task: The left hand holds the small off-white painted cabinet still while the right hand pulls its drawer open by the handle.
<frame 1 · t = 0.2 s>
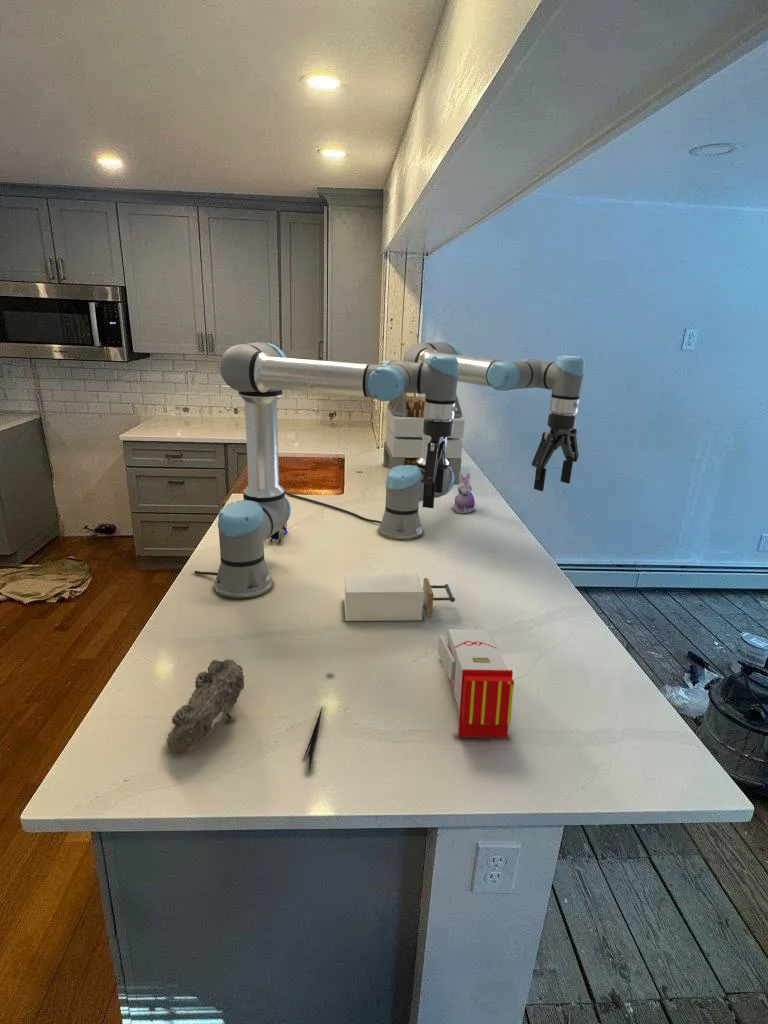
left hand: (432, 499, 149), 28 cm above the counter, tool pointing down, fingers open, 13 cm apart
right hand: (552, 486, 165), 28 cm above the counter, tool pointing down, fingers open, 13 cm apart
drawer: (406, 596, 148), point 4 cm above the counter, slide at 1.5 cm
cabinet: (382, 610, 149), on the counter
toy: (469, 691, 119), on the counter
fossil: (212, 717, 108), on the counter
transformer: (419, 473, 275), on the counter
feather: (319, 719, 109), on the counter
figurine: (463, 510, 227), on the counter
figurine character: (277, 538, 192), on the counter
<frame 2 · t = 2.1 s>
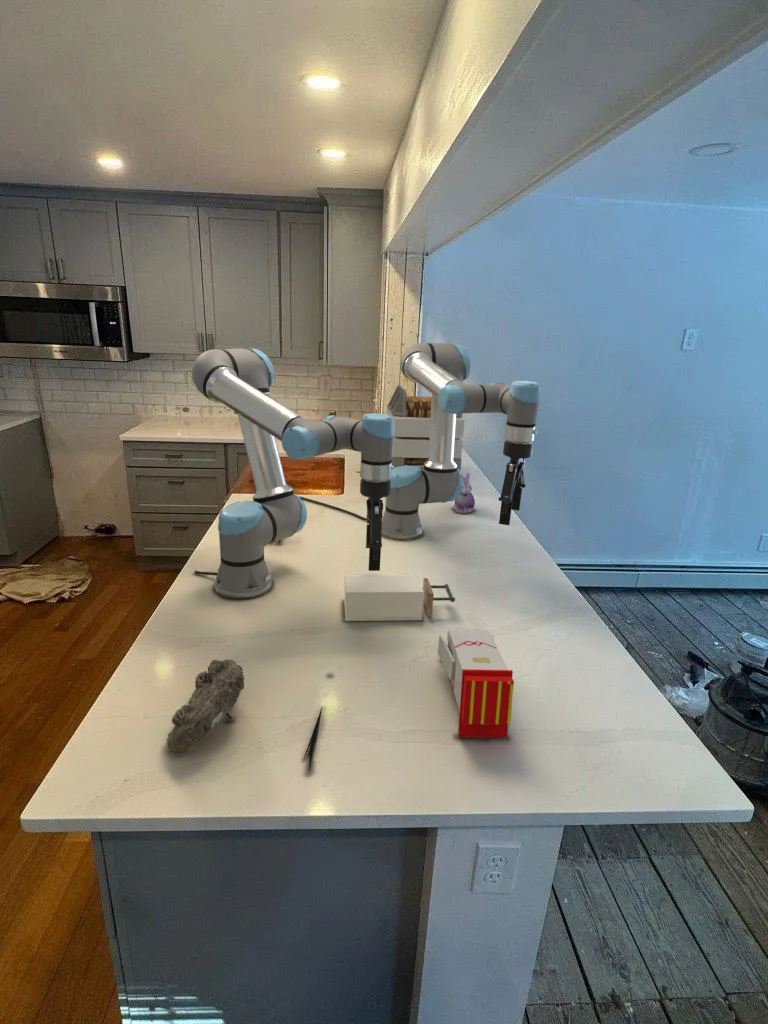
left hand: (372, 558, 145), 14 cm above the counter, tool pointing down, fingers open, 13 cm apart
right hand: (509, 516, 157), 22 cm above the counter, tool pointing down, fingers open, 13 cm apart
nothing on the counter moved.
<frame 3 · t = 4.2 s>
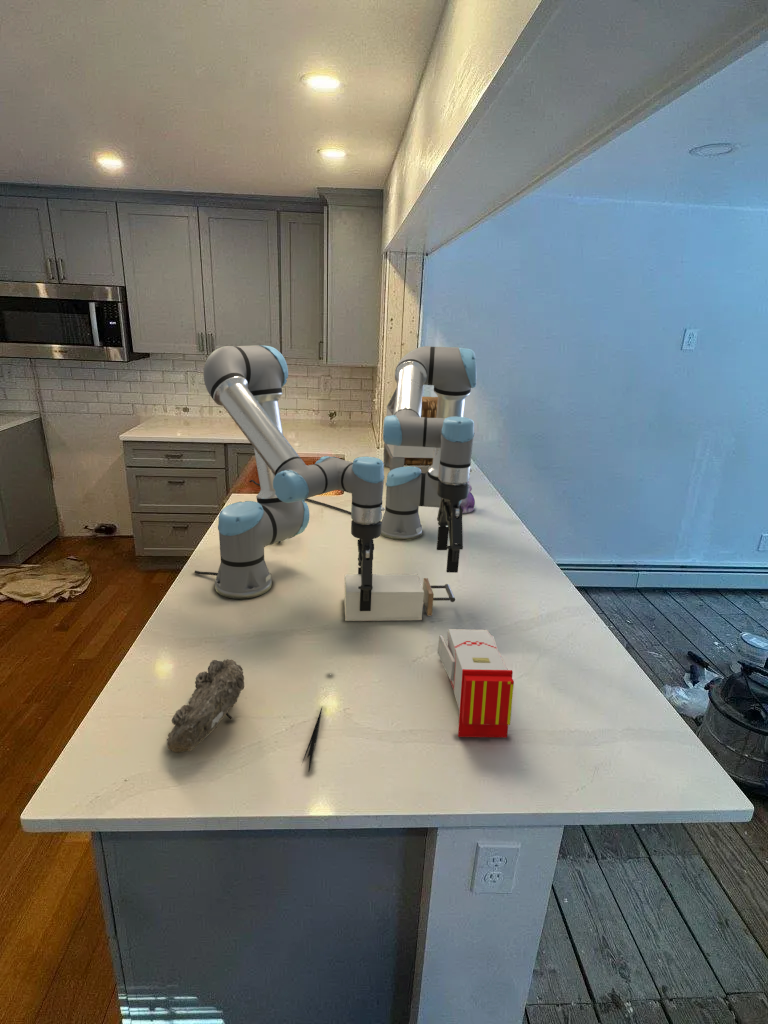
left hand: (363, 599, 147), 3 cm above the counter, tool pointing down, fingers closed on cabinet, 10 cm apart
right hand: (446, 560, 146), 14 cm above the counter, tool pointing down, fingers open, 13 cm apart
cabinet: (382, 610, 149), on the counter, touching left hand
everything else where it was.
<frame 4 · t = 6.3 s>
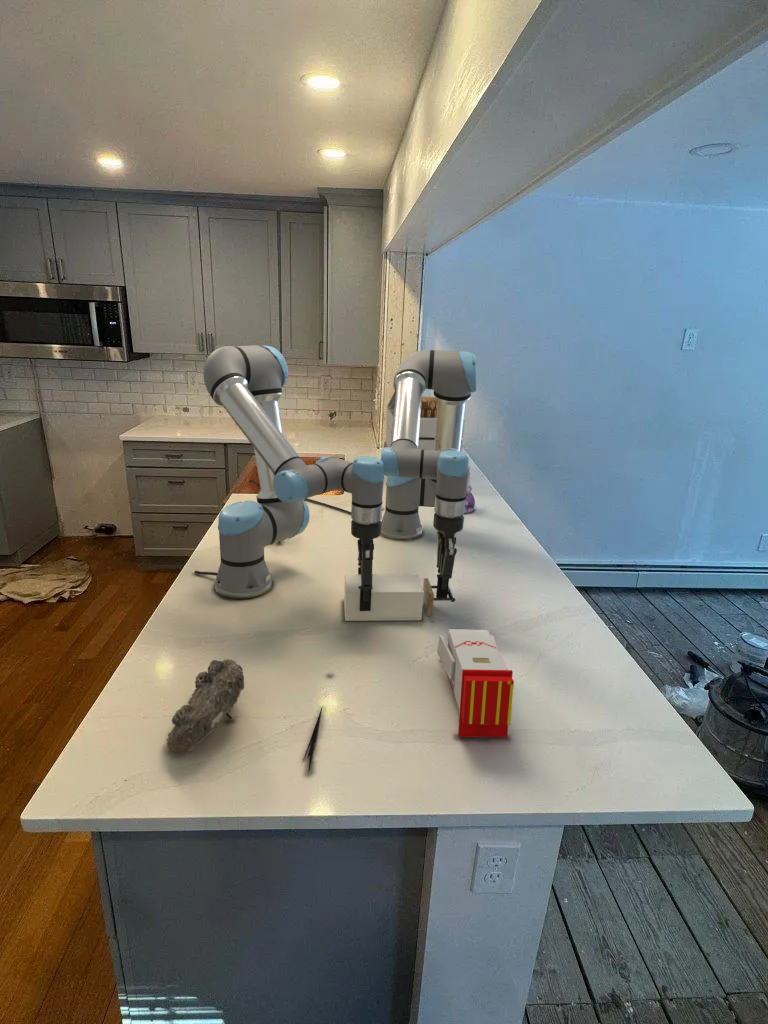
left hand: (363, 599, 147), 3 cm above the counter, tool pointing down, fingers closed on cabinet, 10 cm apart
right hand: (441, 597, 149), 4 cm above the counter, tool pointing down, fingers closed
drawer: (406, 596, 148), point 4 cm above the counter, slide at 1.6 cm, touching right hand
cabinet: (381, 610, 149), on the counter, touching left hand
everything else where it was.
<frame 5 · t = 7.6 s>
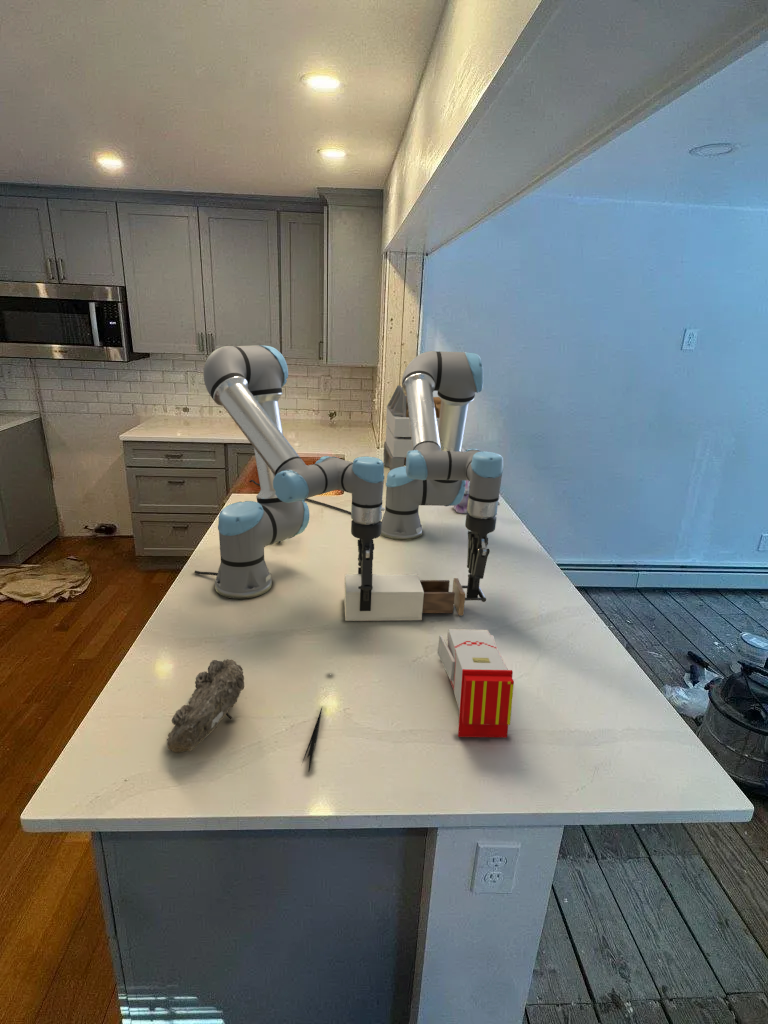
left hand: (363, 599, 147), 3 cm above the counter, tool pointing down, fingers closed on cabinet, 10 cm apart
right hand: (471, 597, 150), 4 cm above the counter, tool pointing down, fingers closed
drawer: (437, 596, 149), point 4 cm above the counter, slide at 9.7 cm, touching right hand
cabinet: (381, 610, 149), on the counter, touching left hand
everything else where it was.
when the left hand's fingers open (3 cm above the counter, at t = 9.5 s): cabinet stays where it is, on the counter.
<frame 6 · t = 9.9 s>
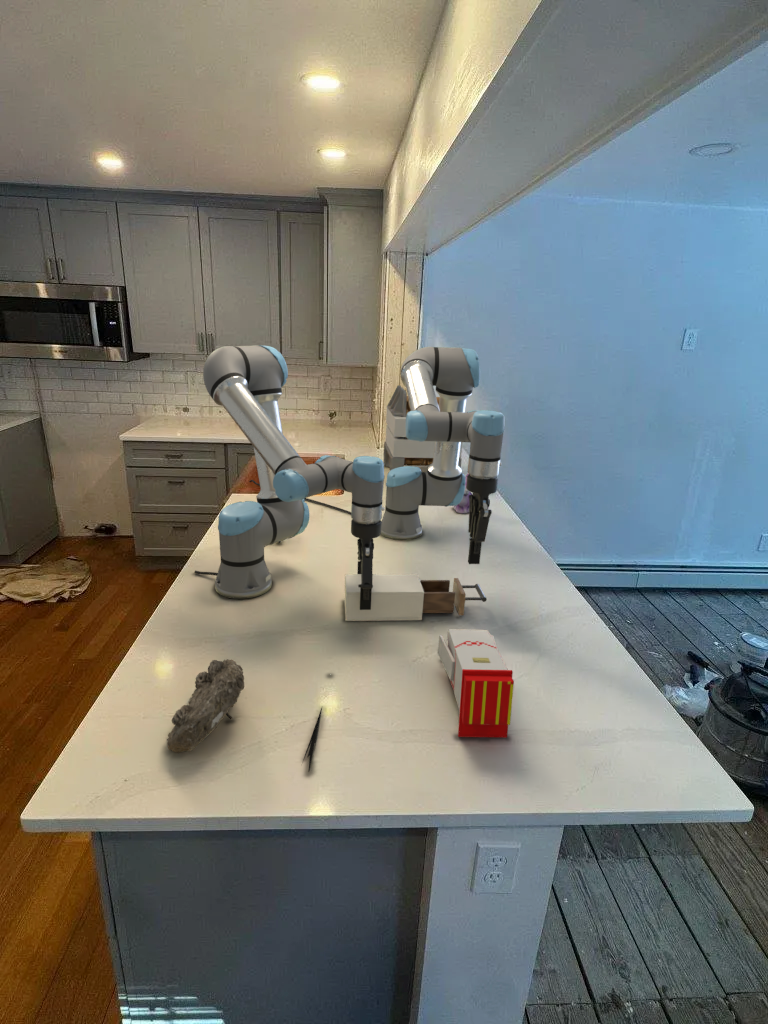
left hand: (363, 596, 147), 4 cm above the counter, tool pointing down, fingers open, 13 cm apart
right hand: (473, 562, 147), 14 cm above the counter, tool pointing down, fingers closed
drawer: (437, 596, 149), point 4 cm above the counter, slide at 9.8 cm
cabinet: (382, 610, 149), on the counter
everything else where it was.
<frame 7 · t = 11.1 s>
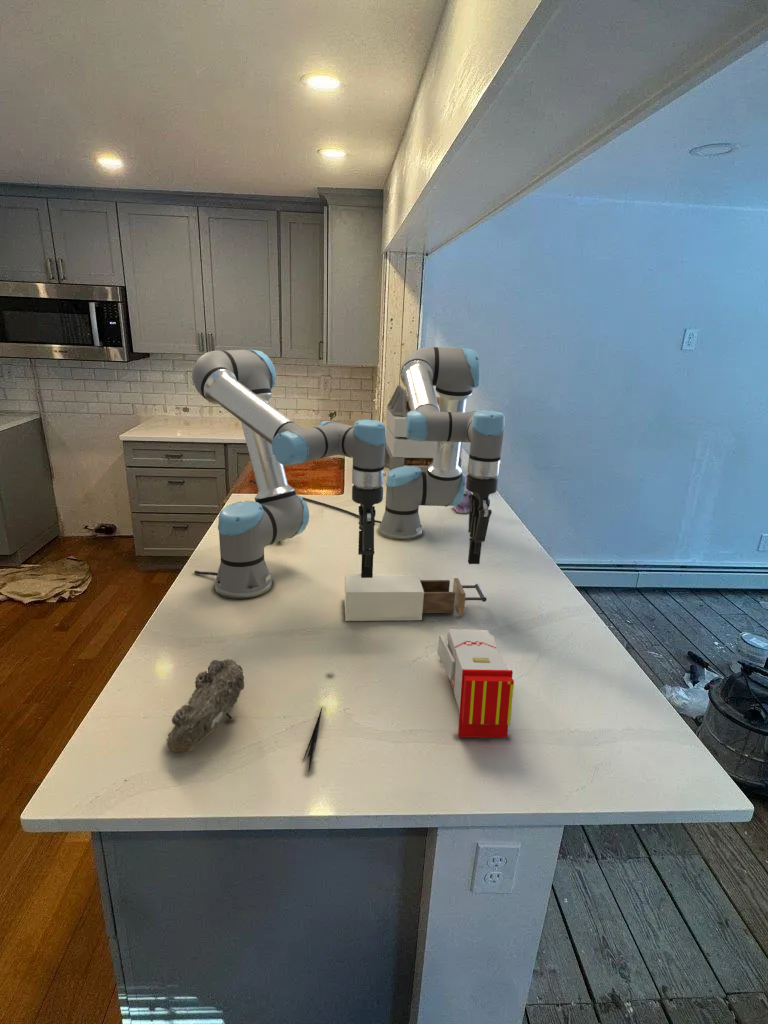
left hand: (365, 565, 144), 13 cm above the counter, tool pointing down, fingers open, 13 cm apart
right hand: (473, 562, 147), 14 cm above the counter, tool pointing down, fingers closed
nothing on the counter moved.
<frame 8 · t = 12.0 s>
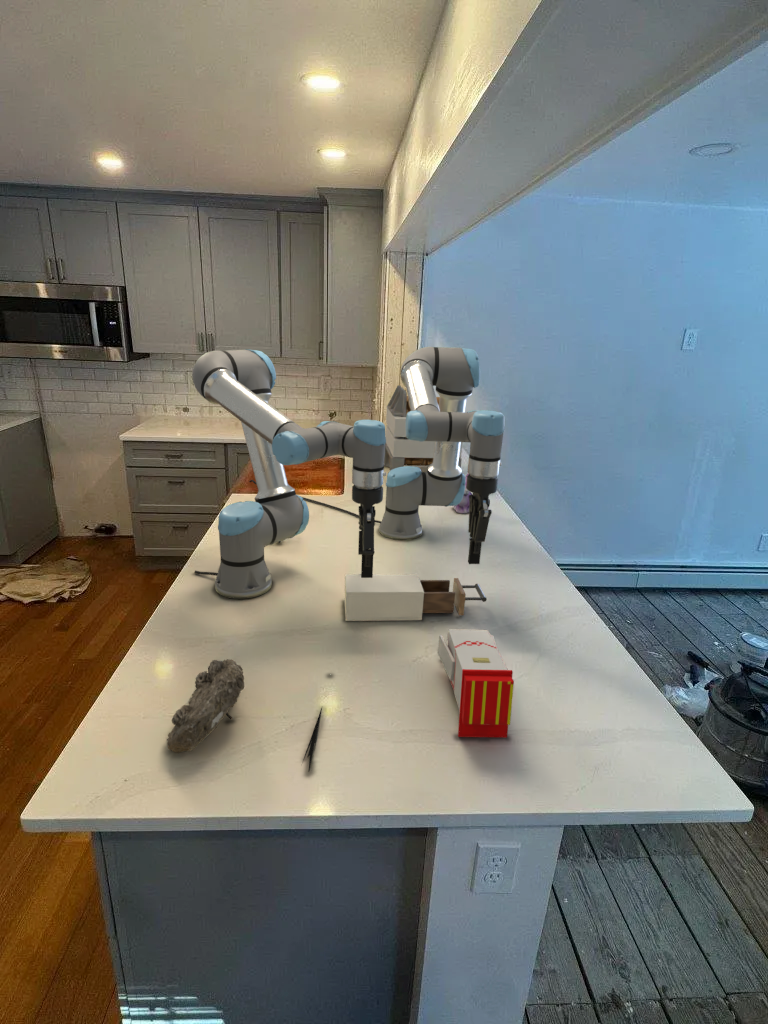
left hand: (365, 565, 144), 13 cm above the counter, tool pointing down, fingers open, 13 cm apart
right hand: (473, 562, 147), 14 cm above the counter, tool pointing down, fingers closed
nothing on the counter moved.
at the end: drawer slide at 9.8 cm; cabinet tilted 0°; cabinet never tilted more than 1° during the clip; cabinet moved 0.0 cm from its start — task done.
